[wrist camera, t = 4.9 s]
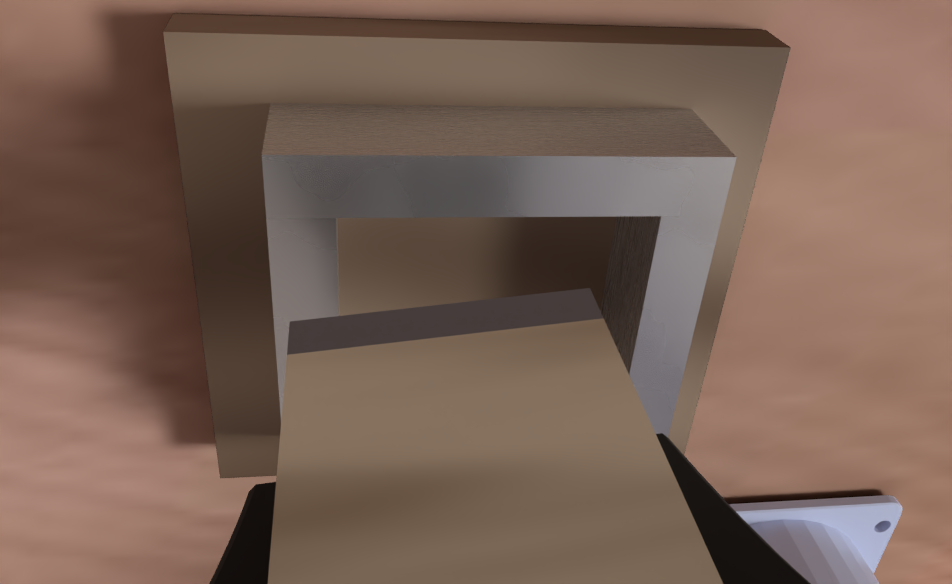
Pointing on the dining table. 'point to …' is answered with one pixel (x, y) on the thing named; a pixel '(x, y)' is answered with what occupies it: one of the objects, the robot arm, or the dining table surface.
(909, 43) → the dining table surface
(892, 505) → the robot arm
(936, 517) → the dining table surface
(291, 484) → the sleeve block
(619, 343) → the collar board
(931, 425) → the dining table surface
